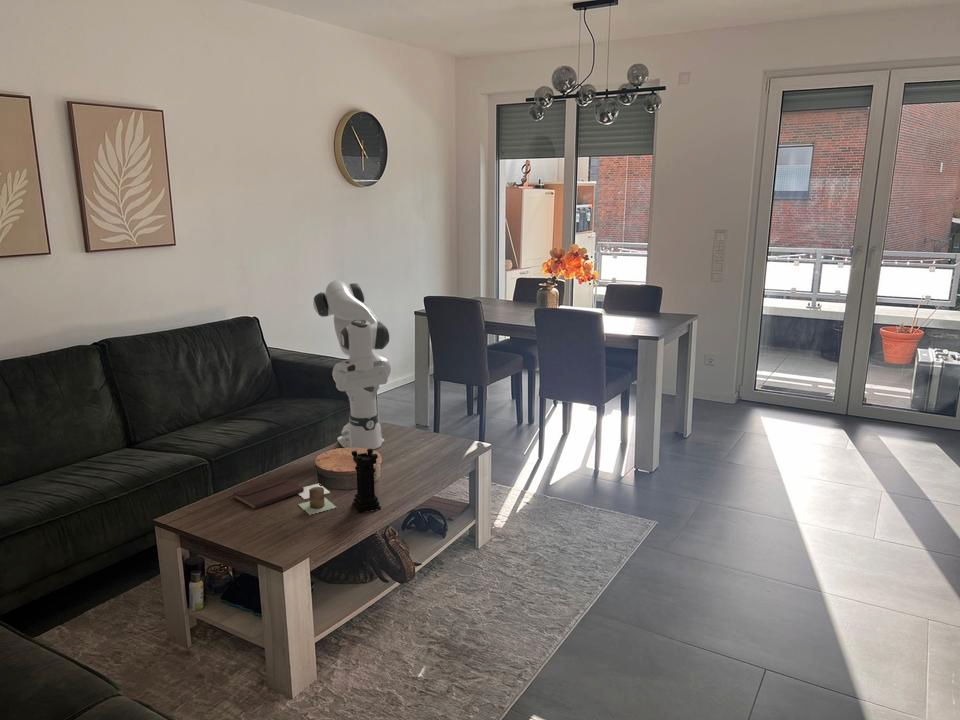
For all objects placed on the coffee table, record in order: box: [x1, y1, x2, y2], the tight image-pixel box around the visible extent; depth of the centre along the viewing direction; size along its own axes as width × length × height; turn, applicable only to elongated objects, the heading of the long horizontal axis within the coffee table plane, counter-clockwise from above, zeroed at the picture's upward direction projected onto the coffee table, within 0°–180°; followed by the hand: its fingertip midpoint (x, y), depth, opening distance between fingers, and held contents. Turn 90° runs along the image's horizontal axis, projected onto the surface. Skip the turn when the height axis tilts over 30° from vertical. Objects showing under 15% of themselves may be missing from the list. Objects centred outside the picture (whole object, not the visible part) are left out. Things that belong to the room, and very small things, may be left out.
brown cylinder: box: [309, 487, 325, 509], centre depth 247 cm, size 5×5×6 cm
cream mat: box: [297, 483, 331, 501], centre depth 260 cm, size 10×10×1 cm
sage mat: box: [297, 496, 337, 516], centre depth 248 cm, size 10×10×1 cm
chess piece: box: [351, 448, 382, 514], centre depth 245 cm, size 8×8×20 cm
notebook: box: [233, 475, 304, 510], centre depth 257 cm, size 15×20×2 cm
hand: (362, 398), depth 268 cm, fingers open, 8 cm apart
